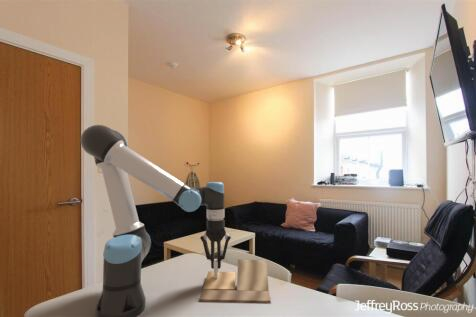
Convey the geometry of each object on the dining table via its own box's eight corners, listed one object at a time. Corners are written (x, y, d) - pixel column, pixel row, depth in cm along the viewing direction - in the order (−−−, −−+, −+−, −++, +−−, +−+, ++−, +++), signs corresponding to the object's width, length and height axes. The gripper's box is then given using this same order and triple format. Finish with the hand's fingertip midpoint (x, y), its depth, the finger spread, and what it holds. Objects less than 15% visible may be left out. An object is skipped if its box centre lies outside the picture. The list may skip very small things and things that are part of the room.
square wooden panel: (237, 291, 94) (237, 290, 93) (237, 261, 103) (237, 259, 102) (268, 292, 94) (268, 290, 93) (266, 261, 103) (266, 260, 102)
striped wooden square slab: (203, 292, 94) (203, 288, 94) (208, 274, 106) (208, 271, 106) (234, 292, 94) (234, 289, 93) (235, 275, 106) (235, 271, 105)
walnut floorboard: (199, 303, 86) (199, 299, 86) (203, 293, 93) (203, 289, 93) (270, 305, 85) (270, 300, 85) (268, 294, 93) (268, 290, 93)
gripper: (198, 220, 99) (198, 280, 98) (230, 220, 99) (231, 280, 98) (201, 217, 106) (202, 272, 105) (231, 217, 106) (232, 272, 105)
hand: (216, 276), depth 101 cm, fingers closed
